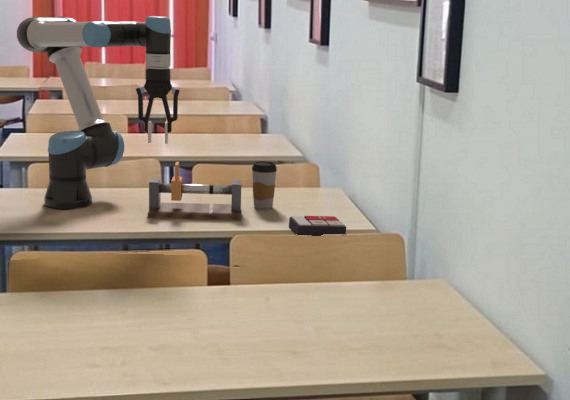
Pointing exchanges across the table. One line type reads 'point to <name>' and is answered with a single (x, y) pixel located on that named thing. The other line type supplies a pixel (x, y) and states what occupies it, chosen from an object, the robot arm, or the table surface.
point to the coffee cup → (263, 184)
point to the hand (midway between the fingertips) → (158, 142)
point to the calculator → (316, 225)
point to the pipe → (195, 192)
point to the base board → (195, 211)
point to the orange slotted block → (176, 185)
